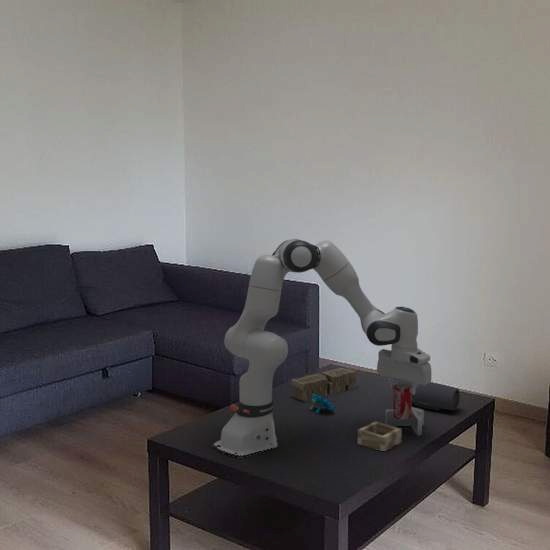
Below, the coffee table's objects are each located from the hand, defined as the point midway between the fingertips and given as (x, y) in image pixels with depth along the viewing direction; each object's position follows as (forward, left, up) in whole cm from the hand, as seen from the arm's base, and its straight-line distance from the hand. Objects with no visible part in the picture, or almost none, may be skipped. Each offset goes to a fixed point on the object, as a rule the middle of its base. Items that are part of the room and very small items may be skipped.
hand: (402, 391), depth 254 cm
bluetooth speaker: (+28, +6, -15) cm, 32 cm away
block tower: (+15, +46, -15) cm, 50 cm away
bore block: (-14, 0, -15) cm, 20 cm away
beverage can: (0, 0, -10) cm, 10 cm away
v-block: (+5, 0, -15) cm, 15 cm away
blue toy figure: (-3, +33, -15) cm, 37 cm away
